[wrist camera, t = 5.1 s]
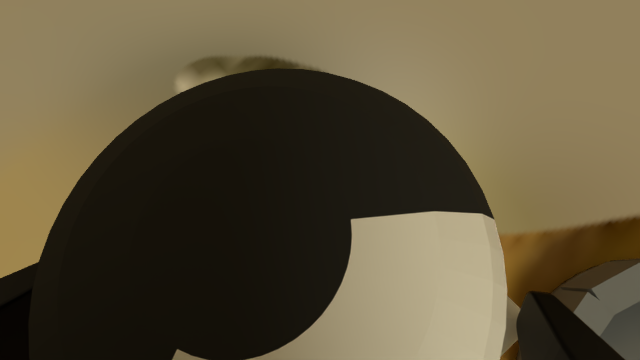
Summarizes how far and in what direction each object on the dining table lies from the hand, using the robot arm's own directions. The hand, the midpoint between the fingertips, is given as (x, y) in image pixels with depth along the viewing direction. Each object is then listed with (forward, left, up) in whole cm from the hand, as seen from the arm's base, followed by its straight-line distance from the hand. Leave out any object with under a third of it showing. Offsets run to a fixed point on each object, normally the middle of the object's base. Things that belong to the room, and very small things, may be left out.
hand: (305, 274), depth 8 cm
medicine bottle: (-1, +1, -8) cm, 8 cm away
